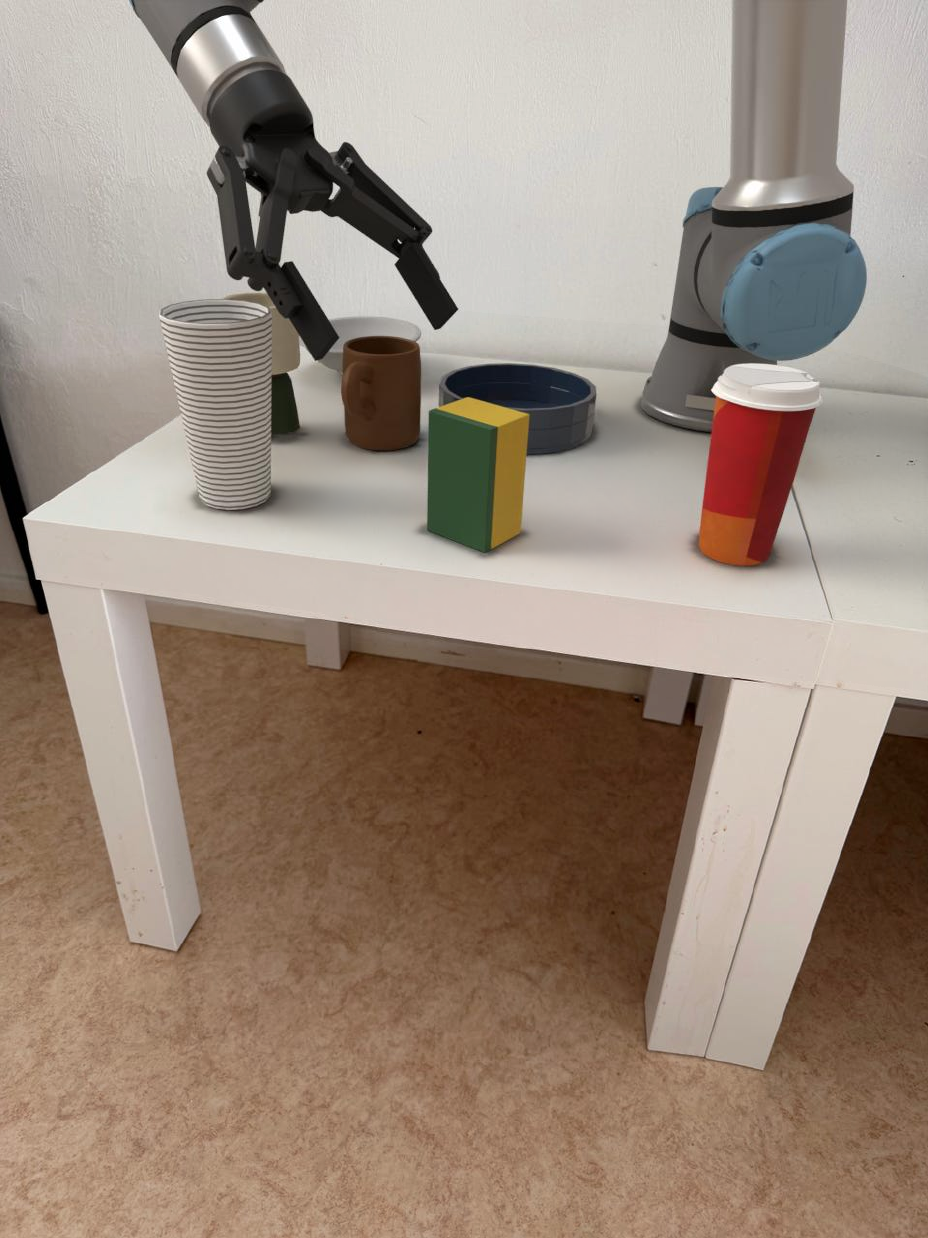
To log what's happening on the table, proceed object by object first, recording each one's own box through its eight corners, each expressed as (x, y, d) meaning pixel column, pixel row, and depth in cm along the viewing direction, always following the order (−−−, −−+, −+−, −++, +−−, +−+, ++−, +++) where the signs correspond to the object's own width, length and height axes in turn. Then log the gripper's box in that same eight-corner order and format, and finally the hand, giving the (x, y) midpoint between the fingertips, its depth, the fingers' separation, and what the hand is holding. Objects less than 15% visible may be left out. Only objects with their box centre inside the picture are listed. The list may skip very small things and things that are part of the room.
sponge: (463, 512, 75) (468, 396, 70) (520, 533, 72) (529, 413, 67) (426, 530, 72) (428, 410, 67) (484, 553, 69) (491, 429, 64)
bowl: (535, 395, 104) (538, 356, 102) (622, 439, 92) (628, 397, 90) (412, 414, 97) (412, 373, 94) (490, 464, 85) (492, 419, 83)
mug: (386, 473, 82) (385, 371, 77) (312, 461, 84) (306, 361, 79) (431, 432, 92) (432, 339, 87) (363, 422, 94) (361, 331, 89)
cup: (271, 472, 81) (257, 295, 73) (297, 508, 75) (285, 319, 67) (176, 485, 78) (150, 301, 70) (195, 523, 72) (168, 327, 64)
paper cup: (764, 529, 75) (803, 362, 67) (797, 573, 68) (844, 393, 61) (673, 528, 74) (702, 359, 67) (696, 571, 68) (731, 390, 60)
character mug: (259, 412, 95) (248, 285, 89) (321, 419, 94) (315, 291, 87) (211, 446, 86) (195, 308, 80) (280, 455, 85) (269, 315, 78)
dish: (389, 402, 100) (388, 357, 97) (273, 387, 103) (270, 343, 101) (439, 362, 114) (439, 322, 112) (336, 350, 118) (334, 311, 115)
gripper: (341, 135, 81) (463, 334, 81) (90, 142, 64) (245, 393, 64) (382, 68, 75) (514, 282, 75) (120, 56, 58) (290, 331, 58)
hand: (391, 334), depth 69 cm, fingers open, 13 cm apart
